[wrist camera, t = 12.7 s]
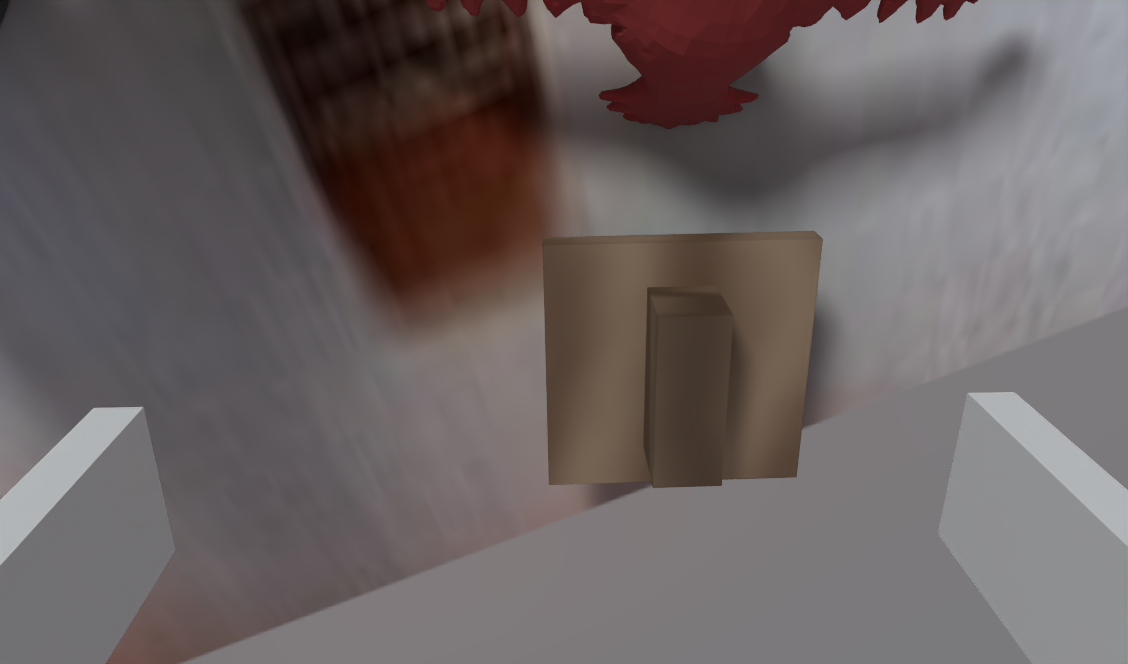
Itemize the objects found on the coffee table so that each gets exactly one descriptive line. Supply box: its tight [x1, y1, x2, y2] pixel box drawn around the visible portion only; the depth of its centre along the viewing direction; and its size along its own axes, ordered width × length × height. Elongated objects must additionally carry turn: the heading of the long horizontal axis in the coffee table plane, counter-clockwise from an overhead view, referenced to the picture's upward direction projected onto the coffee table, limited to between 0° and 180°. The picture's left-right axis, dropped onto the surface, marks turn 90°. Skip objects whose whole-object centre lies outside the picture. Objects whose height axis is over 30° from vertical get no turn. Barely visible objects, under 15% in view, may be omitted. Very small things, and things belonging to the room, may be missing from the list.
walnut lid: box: [543, 231, 823, 488], centre depth 37 cm, size 12×12×5 cm
